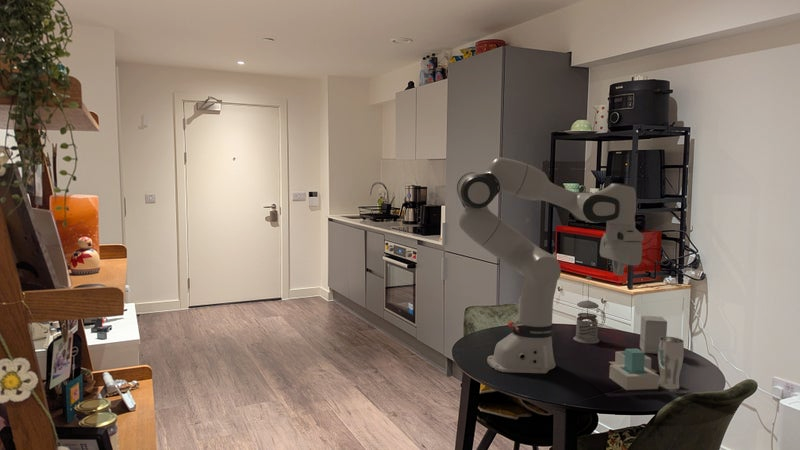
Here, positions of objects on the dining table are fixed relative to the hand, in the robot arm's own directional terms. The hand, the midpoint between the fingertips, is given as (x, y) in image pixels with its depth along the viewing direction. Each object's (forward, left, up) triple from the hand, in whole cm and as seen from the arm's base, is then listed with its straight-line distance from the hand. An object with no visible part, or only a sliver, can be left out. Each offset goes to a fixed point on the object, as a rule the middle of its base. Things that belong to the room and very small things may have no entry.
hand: (618, 274), depth 183 cm
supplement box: (+22, +13, -31) cm, 40 cm away
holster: (+5, -3, -31) cm, 32 cm away
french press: (+6, +30, -31) cm, 44 cm away
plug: (-3, -17, -30) cm, 35 cm away
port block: (-3, -17, -31) cm, 36 cm away
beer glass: (+7, -20, -31) cm, 38 cm away
